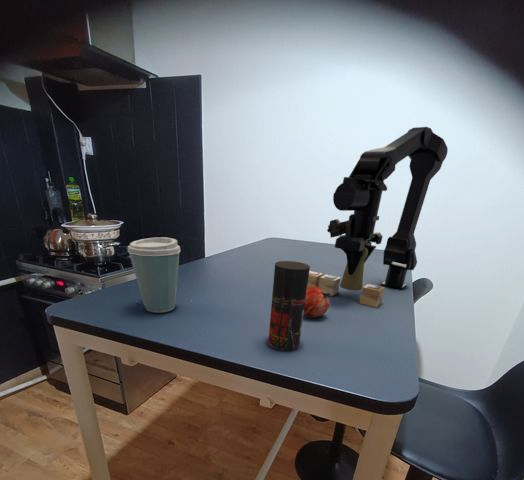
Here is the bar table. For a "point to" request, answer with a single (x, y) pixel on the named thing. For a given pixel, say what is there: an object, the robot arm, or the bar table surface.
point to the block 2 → (329, 284)
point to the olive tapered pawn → (354, 276)
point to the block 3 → (372, 295)
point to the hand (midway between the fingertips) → (353, 273)
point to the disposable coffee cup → (156, 271)
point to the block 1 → (314, 279)
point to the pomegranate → (316, 302)
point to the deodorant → (288, 304)
